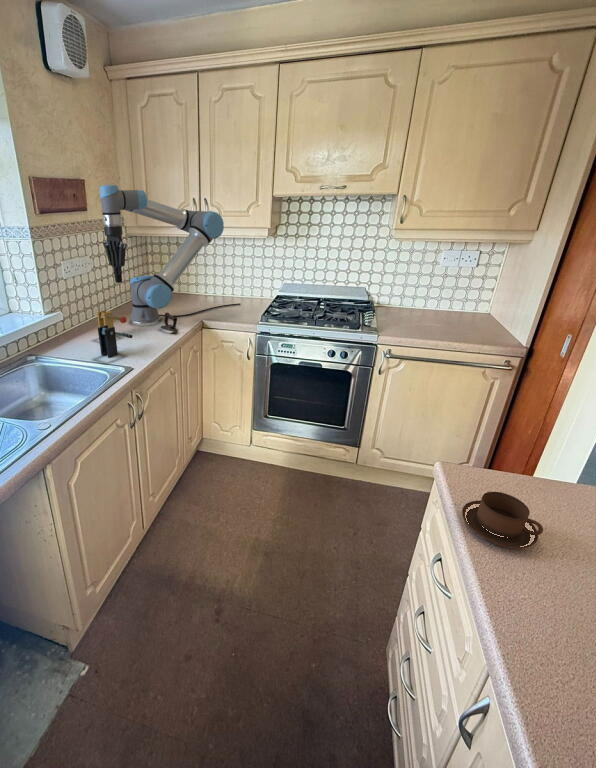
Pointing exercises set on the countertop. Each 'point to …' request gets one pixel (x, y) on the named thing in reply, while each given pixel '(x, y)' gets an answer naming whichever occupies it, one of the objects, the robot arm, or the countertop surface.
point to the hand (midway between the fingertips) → (118, 282)
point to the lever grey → (119, 334)
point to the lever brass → (122, 319)
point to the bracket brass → (105, 319)
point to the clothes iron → (170, 327)
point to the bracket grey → (108, 341)
